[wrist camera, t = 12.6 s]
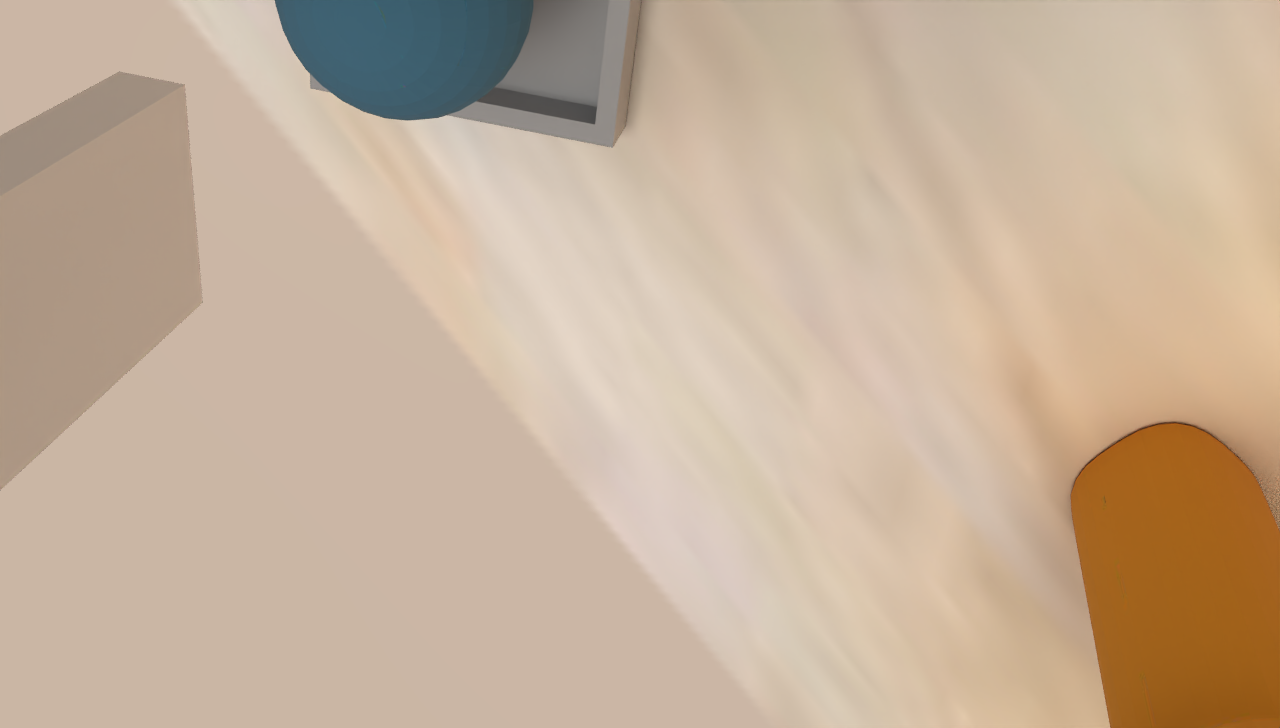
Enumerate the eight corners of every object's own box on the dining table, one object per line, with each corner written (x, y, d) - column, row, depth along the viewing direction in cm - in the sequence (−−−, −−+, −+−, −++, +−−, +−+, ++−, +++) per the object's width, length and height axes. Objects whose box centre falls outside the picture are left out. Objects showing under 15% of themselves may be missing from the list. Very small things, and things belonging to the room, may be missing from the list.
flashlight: (1402, 917, 28) (1650, 1129, 30) (1186, 357, 49) (1338, 501, 52) (1057, 1047, 33) (1289, 1220, 35) (999, 487, 54) (1143, 614, 57)
